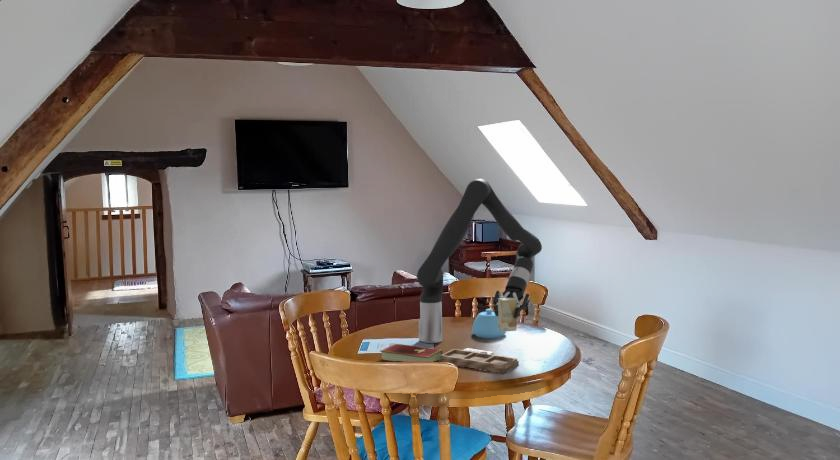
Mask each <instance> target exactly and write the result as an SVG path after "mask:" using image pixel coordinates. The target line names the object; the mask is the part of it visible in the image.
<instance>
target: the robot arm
mask: <svg viewBox="0 0 840 460" xmlns="http://www.w3.org/2000/svg"><path fill="white" fill-rule="evenodd" d="M481 205H483V206H484V207H485V208H486V209H487V210H488V211H489V213H490V214H491V215H492V217H493V218H494V220H495V222H496V223H497V225H498V226H499V227H500V230H502V231H503V232H504V234H505V235H506V236H507V237H508V238H509V239H510V241H512V242H516V241H518V242H520V244H519V246H518V248H517V250H516V254H515V255H516V256H515V263H514V265H513V268H512V271H510V273H509V277H508V280H507V282H506V286H505V288H504V290H503V291H502V292H501V291H499V290H496V292H495V294H494V297H493V299H492V304H493V305H494V307H495V308H494V310H493V312H494V313H495V315H496V316H498V298H514V299H517V308H516V309H515V312H514V314H513V317H514V318H515V319H517V318H519V316H520V314H521V311H522V310H524V311H526V310H527V309H528V306H529V303H530V301H531V295H530V294H529V293H526V294H525V292H526V289H527V287H528V284H529V280H530V276H531V273H532V270H533V266H534V263H533V260H532V259H533V258H534V257H536V255H538V254H539V253H540V252H541V251H542V249H543V246H542V243H541V241H540V239H539V238H538V237H536V236H535V235H534V234H533V233H531V232H530V231H529V230H527V229H526V228H524V227H523V226H522V224H521V223H520V222H519V221H518V220H517V219H516V217H515V216H514V215H513V214H512V213H511V212H510V211H509V209H507V207H506V206H505V205H504V204H503V202H502V201H501V199H500V198H499V197H498V195H496V193H495V191H494V190H493V188H492V186H491V184H490V183H489V181H488V180H486V179H484V178H475V179H473V180H472V181H470V182H469V183H468V184H467V186H466V188H465V191H464V193H463V195H462V198H461V200H460V202H459V204H458V206H457V208H456V209H455V210H454V212H453V213H452V215H451V216H450V217H449V219H448V221H447V222H446V223H445V225H444V227H443V229H442V230H441V233H440V234H439V236H438V238H437V240H436V241H435V244H434V245H433V247H432V249H431V251H430V253H429V255H428V256H427V257H426V259H425V260H424V262H423V263H422V264H421V265H420V267H419V268H418V270H417V272H416V273H417V274H416V279H417V282H418V284H419V285H420V286H422V291H421V293H420V295H419V307H420V309H419V310H420V311H419V314H420V316H419V317H420V318H418V319H417V320H418V321H417V322H418V341H419V342H421V343H426V344H437V343H440V342H442V341H443V316H442V315H443V312H442V310H443V309H442V307H443V305H442V304H443V302H442V296H443V293H444V272H443V269H442V268H443V267H444V264H445V263H446V262H447V261H448V259H449V258H450V257H451V256H452V255H453V254H454V252H455V251H457V249H458V248H459V246H460V245H461V243H462V242H463V240H464V238H465V236H466V234H467V233H468V231H469V228H470V225H471V223H472V220H473V217H474V215H475V214H476V212H477V211H478V210H479V207H480V206H481ZM521 300H522V301H523V302H522V304H521V303H520V301H521Z"/></svg>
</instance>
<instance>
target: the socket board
mask: <svg viewBox="0 0 840 460" xmlns="http://www.w3.org/2000/svg"><path fill="white" fill-rule="evenodd" d="M519 361H520V360H518V358H516V357H509V356H505V355H498V354H485V353H478V352H472V351H465V350H464V349H459V348H452V349H450V350H449V351H446V352H444V353H443V354H442V355H440V359H439V360H438V363H439V362H450V363H453V364H455V365H458V366H463V367H462V368H464V367H469V368H468V369H470V368H475V369H474V370H476V369H481V370H480V371H482V370H486V371H485V372H488V371H492V372H491V373H493V372H497V373H496V374H499V373H502V374H501V375H504V374H506V373H508V372H509V371H511V370H513V369H514V368H517V366H519V365H520V364H519V363H520V362H519ZM458 366H457V367H458ZM512 368H513V369H512ZM510 369H511V370H510ZM507 371H508V372H507ZM505 372H506V373H505Z"/></svg>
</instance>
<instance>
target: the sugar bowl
mask: <svg viewBox="0 0 840 460" xmlns="http://www.w3.org/2000/svg"><path fill="white" fill-rule="evenodd" d="M471 331H472V333H473V334H474V336H475V335H476V337H477V338H480V337H481V338H480V339H488V338H492V339H499V337H500V338H502V337H504V336H505V334H506V333H507V331H505V332H502V331H500V330H498V316H496V315H495V313H494V311H493V309H491V308H486V309H485V311H482V312H480V313H478V315H477V316H476V318H475V319H474V321H473V324H472V329H471Z"/></svg>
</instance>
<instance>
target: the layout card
mask: <svg viewBox="0 0 840 460" xmlns="http://www.w3.org/2000/svg"><path fill="white" fill-rule="evenodd" d="M463 350H465V351H472V352H478V353H485V354H491V355H493V354H494V351H488V350H482V349H475V348H471V347H466V348H464V349H463ZM492 353H493V354H492Z"/></svg>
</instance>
